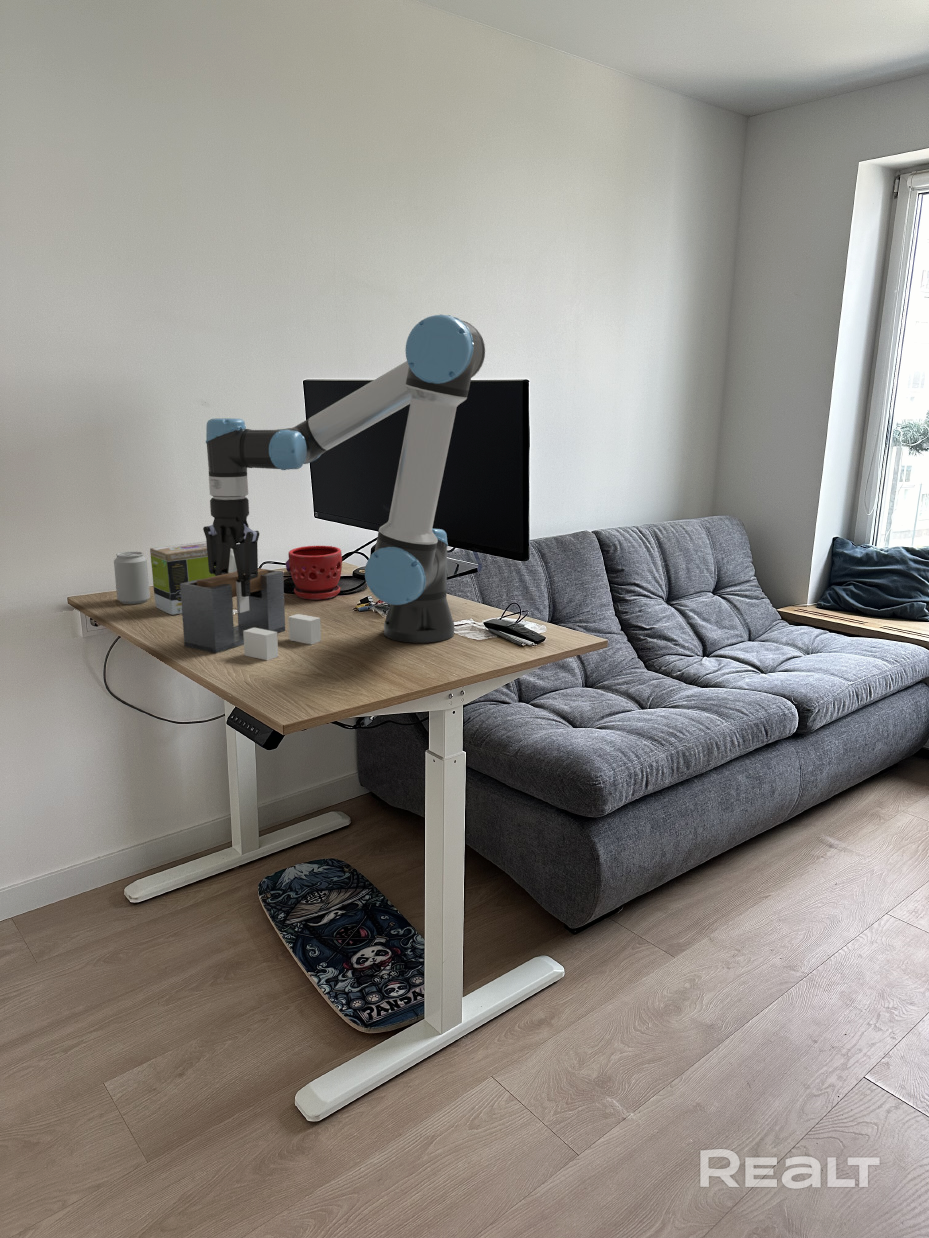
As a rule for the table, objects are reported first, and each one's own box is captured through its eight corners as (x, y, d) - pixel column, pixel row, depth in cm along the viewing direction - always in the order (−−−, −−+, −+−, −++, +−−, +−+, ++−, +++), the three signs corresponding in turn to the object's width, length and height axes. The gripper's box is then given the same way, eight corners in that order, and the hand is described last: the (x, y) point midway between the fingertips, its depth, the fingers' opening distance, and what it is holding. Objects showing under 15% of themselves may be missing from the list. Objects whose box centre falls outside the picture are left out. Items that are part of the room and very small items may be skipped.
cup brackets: (285, 630, 189) (283, 571, 186) (215, 653, 172) (212, 589, 169) (255, 624, 193) (252, 567, 190) (184, 646, 176) (180, 583, 173)
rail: (268, 587, 186) (267, 569, 185) (212, 602, 172) (210, 582, 171) (254, 585, 188) (253, 567, 187) (197, 600, 174) (196, 580, 173)
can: (131, 606, 207) (126, 557, 204) (110, 602, 211) (106, 553, 208) (156, 600, 214) (153, 552, 211) (136, 596, 217) (132, 549, 214)
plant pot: (293, 590, 226) (292, 545, 223) (344, 590, 227) (343, 545, 224) (286, 602, 214) (284, 554, 211) (340, 602, 215) (339, 554, 212)
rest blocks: (320, 641, 182) (320, 617, 180) (267, 660, 168) (266, 635, 167) (298, 636, 184) (297, 613, 183) (244, 655, 171) (243, 630, 170)
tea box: (213, 598, 216) (209, 540, 213) (231, 606, 209) (228, 545, 205) (153, 607, 207) (149, 546, 203) (171, 616, 200) (166, 552, 196)
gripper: (184, 495, 176) (192, 607, 182) (247, 502, 168) (252, 619, 174) (212, 492, 182) (218, 600, 188) (274, 498, 174) (278, 611, 180)
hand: (235, 609), depth 181 cm, fingers closed on rail, 4 cm apart
